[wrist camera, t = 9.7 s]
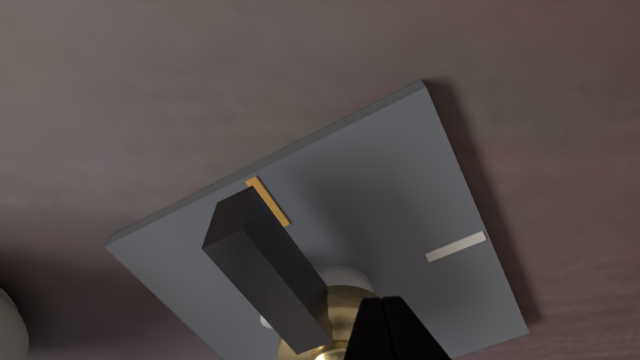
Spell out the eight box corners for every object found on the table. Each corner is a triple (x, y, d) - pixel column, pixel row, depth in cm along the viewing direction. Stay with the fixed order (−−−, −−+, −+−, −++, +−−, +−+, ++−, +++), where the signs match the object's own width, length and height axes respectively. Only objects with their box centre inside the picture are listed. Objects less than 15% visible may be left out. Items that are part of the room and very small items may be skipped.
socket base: (522, 320, 27) (562, 394, 23) (282, 401, 31) (277, 477, 27) (420, 79, 19) (453, 124, 14) (112, 235, 23) (65, 305, 19)
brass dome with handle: (296, 163, 17) (293, 205, 14) (411, 340, 23) (424, 392, 20) (177, 221, 18) (156, 269, 16) (314, 374, 24) (315, 427, 22)
